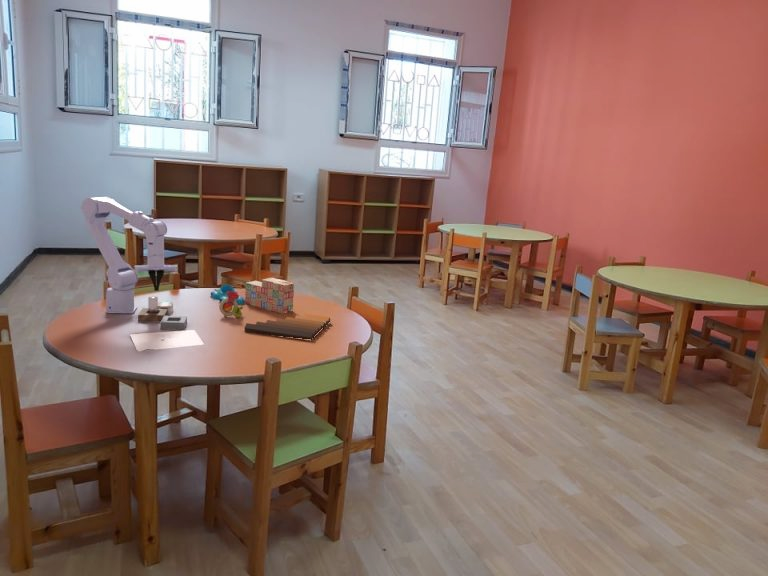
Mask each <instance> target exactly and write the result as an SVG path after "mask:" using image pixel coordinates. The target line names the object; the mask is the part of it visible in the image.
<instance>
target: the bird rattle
mask: <svg viewBox="0 0 768 576" xmlns="http://www.w3.org/2000/svg"><path fill="white" fill-rule="evenodd" d="M226 293H227V296H228V298H225V299H224V300H222V301H221V303H220V302H219V311H220V313H221V314H222V315H223V317H224V318H227V317H231V316H236V318H240V317H241V316H243V312H242V310H243V309H244V307H243V305H238V304H237V302H236V301H235V299H238V298H239V294H238V292H235V291H231V292H230V291H228V292H226ZM226 302H230V303H232V304H233V305H231V304H230V303H226Z"/></svg>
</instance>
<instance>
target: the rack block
mask: <svg viewBox="0 0 768 576" xmlns="http://www.w3.org/2000/svg"><path fill="white" fill-rule="evenodd" d="M159 323H160V324H159V325H160V330H185V329H186V327H187V325H188V324H187V323H188V316H187V315H168V316H164V317H163V318H162V320H161V322H159Z"/></svg>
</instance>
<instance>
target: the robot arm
mask: <svg viewBox="0 0 768 576" xmlns="http://www.w3.org/2000/svg"><path fill="white" fill-rule="evenodd" d="M80 210H81V212H82V214H83V216H84V219H85V223H86V227H87V229H88V230H89V232H90V233H89V234H91V237H92V238H93V240H94V242H95V244H96V246H97V247H98V249H99V252H100V254H101V255H102V257H103V259H104V261H105V263H106V265H107V267H108V268H107V270H106V272H105V274H106V276H107V282H108V285H109V287H108V288H107V289H106V293H105V294H106V295H105V302H106V303H105V307H106V309H105V310H106V311H105V313H107V314H134V312H135V311H136V310H137V308H138V307H137V306H135V288H136V286H135V285H136V284H137V282H138V281H139V275H138V273H137V272H147V273H148V275H149V278H150V280H151V282H152V285H153V288H154V291H156V292H159V290H160V289H159V288H160V284H161V281H162V280H163V276H164V274H165V272H178V265H177V264H175V265H174V264H173V265H172V264H165V235H166V234H167V232H168V228H167V225H166V223H165V222H163V221H162V220H154V219H155V218H153V217H150V216H147V215H145V214H144V212H143V211H140V210H139V211H134V212H133V211H131V210H130V209H128V208H127V207H125V206H123V205H121V204H120V203H118V202H117V201H115V198H110V197H109V196H98V197H88V196H87V197H85V198H84V199H83V200H82V203H81V206H80ZM110 214H113V215H115V216H118V217H119V218H122V219H124V220H126V221H128V224H129V225H130V226H131V227H132V228H135V229H137V230H139V231H140V232H142V233H143V234H144V236H145V238H146V245H147V247H146V248H147V250H146V251H147V254H146V255H147V256H146V257H147V258H146V259H147V264H141V265H140V264H139V265H134V268H133V267H132V266H131V264H130V263H128V262H125V261H124V260H123V258H122V256H121V255H120V251H119V250H118V248H117V246H116V244H115V242H114V241H113V238H112V237H111V234H110V233H109V231H108V229H107V227H106V226H105V222H106V220H107V219H108V217H109V216H110Z"/></svg>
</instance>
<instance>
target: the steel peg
mask: <svg viewBox="0 0 768 576" xmlns="http://www.w3.org/2000/svg"><path fill="white" fill-rule="evenodd" d="M147 300H148V301H147V304H148V306H147V307H148V308H149V313H158V304H159V301H158V300H159V297H158V296H154V295H153V296H148V298H147Z"/></svg>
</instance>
